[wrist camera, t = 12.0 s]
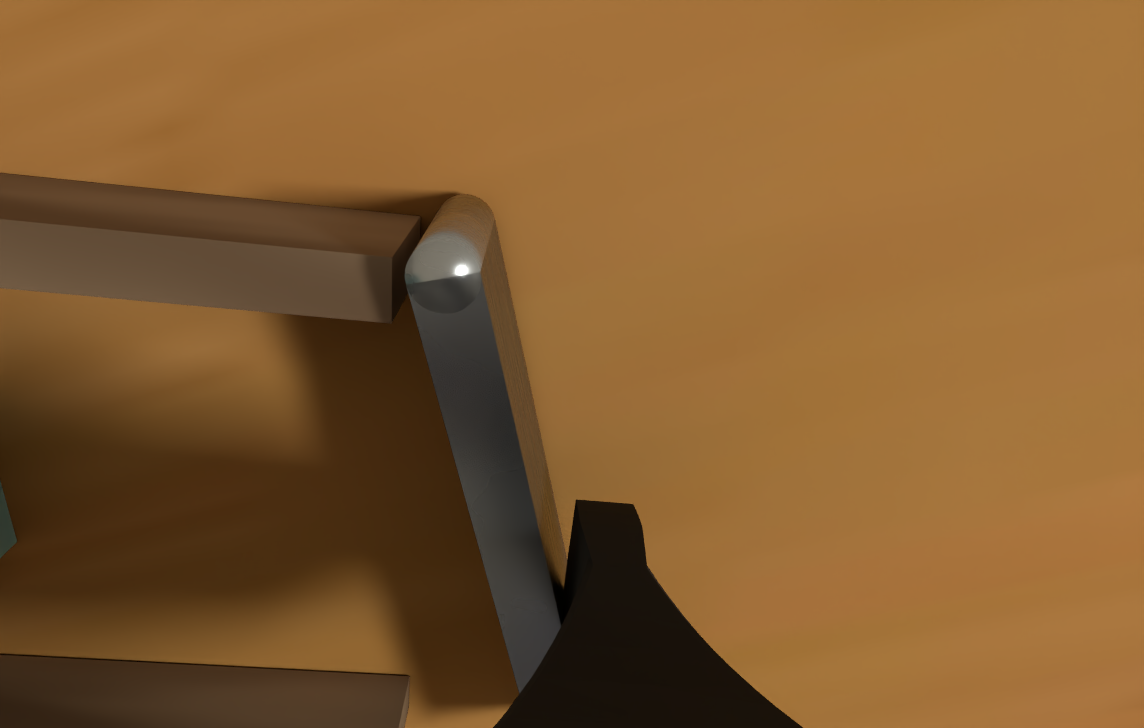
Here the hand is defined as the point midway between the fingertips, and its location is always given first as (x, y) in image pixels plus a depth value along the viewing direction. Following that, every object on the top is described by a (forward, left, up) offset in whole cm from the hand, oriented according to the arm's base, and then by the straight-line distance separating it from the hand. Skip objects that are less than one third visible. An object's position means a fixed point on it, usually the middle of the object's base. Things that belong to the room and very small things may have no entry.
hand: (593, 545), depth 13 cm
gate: (+5, +3, -2) cm, 6 cm away
